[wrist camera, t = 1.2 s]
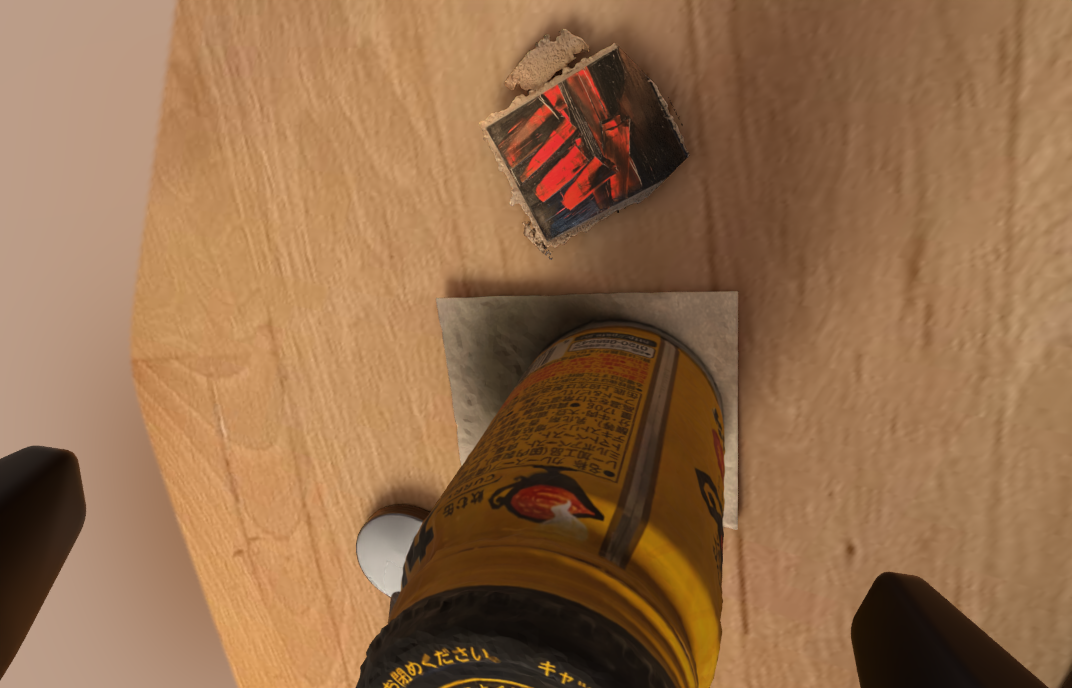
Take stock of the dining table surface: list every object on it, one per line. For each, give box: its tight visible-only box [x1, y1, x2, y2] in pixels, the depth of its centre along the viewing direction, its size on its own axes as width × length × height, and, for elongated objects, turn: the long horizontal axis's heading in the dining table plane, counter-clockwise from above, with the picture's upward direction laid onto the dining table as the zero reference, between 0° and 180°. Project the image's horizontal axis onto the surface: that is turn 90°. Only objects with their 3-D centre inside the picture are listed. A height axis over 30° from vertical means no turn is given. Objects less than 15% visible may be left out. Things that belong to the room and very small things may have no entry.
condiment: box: [356, 291, 738, 688], centre depth 16 cm, size 7×8×12 cm
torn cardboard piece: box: [479, 29, 690, 260], centre depth 19 cm, size 5×5×1 cm
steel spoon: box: [356, 505, 430, 616], centre depth 27 cm, size 14×4×1 cm, turn 171°
